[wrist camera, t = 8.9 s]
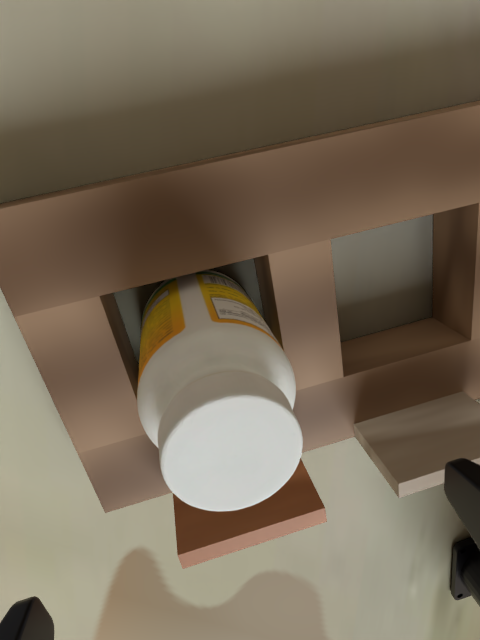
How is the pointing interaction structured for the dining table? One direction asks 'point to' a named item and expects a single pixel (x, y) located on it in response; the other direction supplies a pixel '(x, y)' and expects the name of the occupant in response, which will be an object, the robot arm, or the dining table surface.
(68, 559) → the dining table surface
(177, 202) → the socket board
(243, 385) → the supplement bottle
